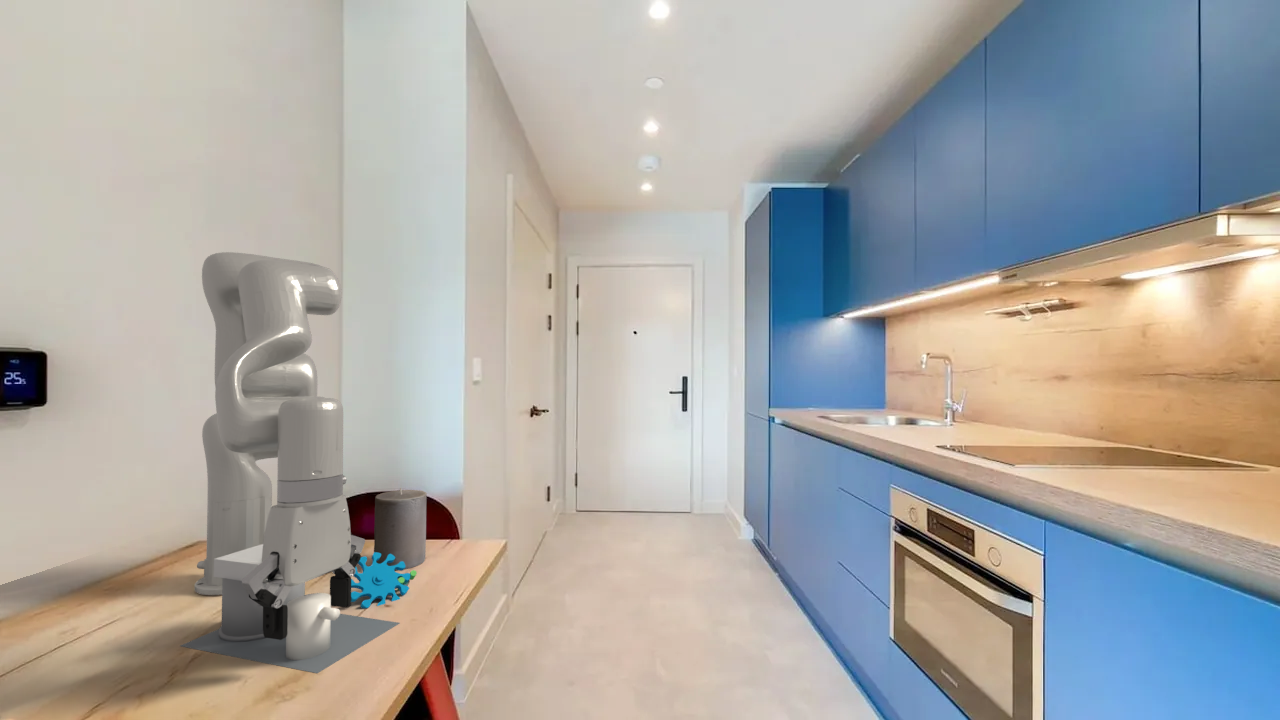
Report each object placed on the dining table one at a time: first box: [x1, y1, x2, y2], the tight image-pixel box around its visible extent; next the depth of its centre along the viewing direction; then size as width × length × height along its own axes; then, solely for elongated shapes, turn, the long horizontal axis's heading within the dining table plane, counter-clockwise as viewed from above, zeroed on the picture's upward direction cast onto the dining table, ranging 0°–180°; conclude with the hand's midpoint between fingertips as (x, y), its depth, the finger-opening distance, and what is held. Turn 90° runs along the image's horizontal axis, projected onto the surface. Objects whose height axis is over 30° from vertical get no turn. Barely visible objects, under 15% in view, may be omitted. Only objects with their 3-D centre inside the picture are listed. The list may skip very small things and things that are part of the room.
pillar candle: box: [373, 487, 428, 572], centre depth 108 cm, size 10×10×15 cm
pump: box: [286, 592, 341, 660], centre depth 71 cm, size 7×5×6 cm
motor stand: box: [179, 544, 401, 674], centre depth 76 cm, size 24×14×12 cm, turn 73°
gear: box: [351, 551, 417, 609], centre depth 89 cm, size 11×6×10 cm
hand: (310, 620), depth 71 cm, fingers open, 9 cm apart
